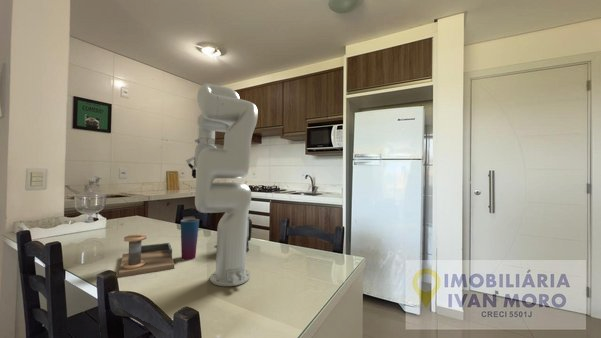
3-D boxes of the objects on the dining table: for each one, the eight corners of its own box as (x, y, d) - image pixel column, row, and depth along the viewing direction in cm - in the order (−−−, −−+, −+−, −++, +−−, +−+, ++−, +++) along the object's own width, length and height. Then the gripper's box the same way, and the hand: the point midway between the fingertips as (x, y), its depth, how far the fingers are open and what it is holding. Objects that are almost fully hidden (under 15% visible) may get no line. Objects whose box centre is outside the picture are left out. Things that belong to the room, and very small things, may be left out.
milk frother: (245, 254, 106) (247, 219, 106) (209, 253, 106) (210, 218, 106) (253, 244, 120) (254, 214, 120) (220, 243, 120) (221, 212, 121)
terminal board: (174, 268, 89) (175, 236, 89) (118, 277, 80) (120, 241, 80) (169, 251, 106) (170, 224, 106) (122, 257, 97) (124, 228, 97)
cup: (200, 255, 103) (202, 219, 103) (192, 261, 96) (193, 222, 96) (185, 254, 103) (186, 218, 103) (175, 260, 97) (176, 221, 97)
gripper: (188, 140, 113) (186, 178, 113) (226, 143, 122) (225, 178, 122) (185, 141, 119) (184, 177, 119) (222, 145, 129) (220, 178, 128)
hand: (205, 178), depth 121 cm, fingers open, 9 cm apart
